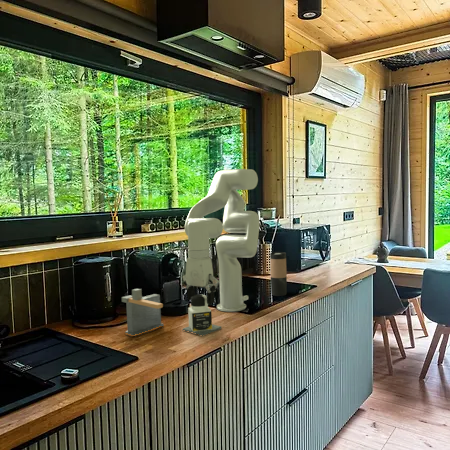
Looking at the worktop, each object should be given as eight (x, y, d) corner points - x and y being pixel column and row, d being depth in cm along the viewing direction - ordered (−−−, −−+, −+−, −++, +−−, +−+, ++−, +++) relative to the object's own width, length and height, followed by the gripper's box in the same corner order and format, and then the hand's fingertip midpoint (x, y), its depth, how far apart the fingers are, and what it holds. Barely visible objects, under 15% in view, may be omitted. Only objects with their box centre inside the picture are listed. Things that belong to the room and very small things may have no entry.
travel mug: (286, 292, 208) (285, 251, 207) (287, 296, 201) (286, 254, 199) (270, 292, 209) (269, 252, 208) (271, 296, 202) (270, 254, 200)
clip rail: (155, 324, 163) (154, 293, 162) (163, 326, 160) (162, 294, 159) (125, 334, 152) (123, 301, 151) (133, 337, 149) (131, 303, 148)
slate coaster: (201, 323, 162) (201, 321, 162) (221, 328, 155) (221, 326, 155) (182, 330, 155) (182, 328, 154) (202, 336, 148) (202, 333, 148)
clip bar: (130, 299, 153) (129, 286, 152) (164, 307, 140) (163, 293, 140) (121, 301, 150) (121, 288, 150) (156, 309, 138) (155, 295, 137)
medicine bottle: (192, 332, 150) (191, 298, 149) (188, 326, 157) (187, 294, 156) (212, 329, 152) (211, 296, 151) (207, 324, 159) (206, 292, 158)
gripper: (175, 254, 156) (177, 300, 157) (209, 257, 145) (211, 307, 146) (189, 251, 161) (191, 295, 163) (224, 254, 150) (225, 302, 151)
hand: (200, 301), depth 154 cm, fingers open, 9 cm apart
